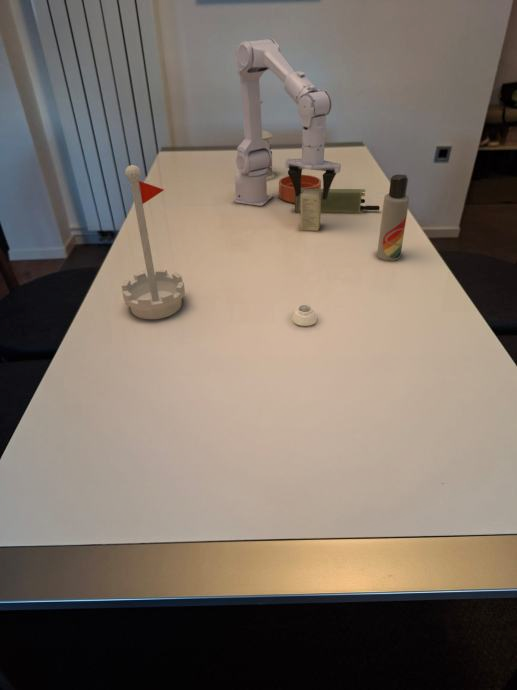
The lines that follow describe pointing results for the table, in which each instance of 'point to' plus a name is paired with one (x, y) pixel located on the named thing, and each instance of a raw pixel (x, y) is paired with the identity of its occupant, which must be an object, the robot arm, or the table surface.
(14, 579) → the table surface
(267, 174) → the weather station
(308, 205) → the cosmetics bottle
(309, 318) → the white jar
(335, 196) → the handheld radio
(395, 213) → the lotion bottle
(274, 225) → the table surface
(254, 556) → the table surface
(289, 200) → the bowl
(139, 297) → the flag stand
